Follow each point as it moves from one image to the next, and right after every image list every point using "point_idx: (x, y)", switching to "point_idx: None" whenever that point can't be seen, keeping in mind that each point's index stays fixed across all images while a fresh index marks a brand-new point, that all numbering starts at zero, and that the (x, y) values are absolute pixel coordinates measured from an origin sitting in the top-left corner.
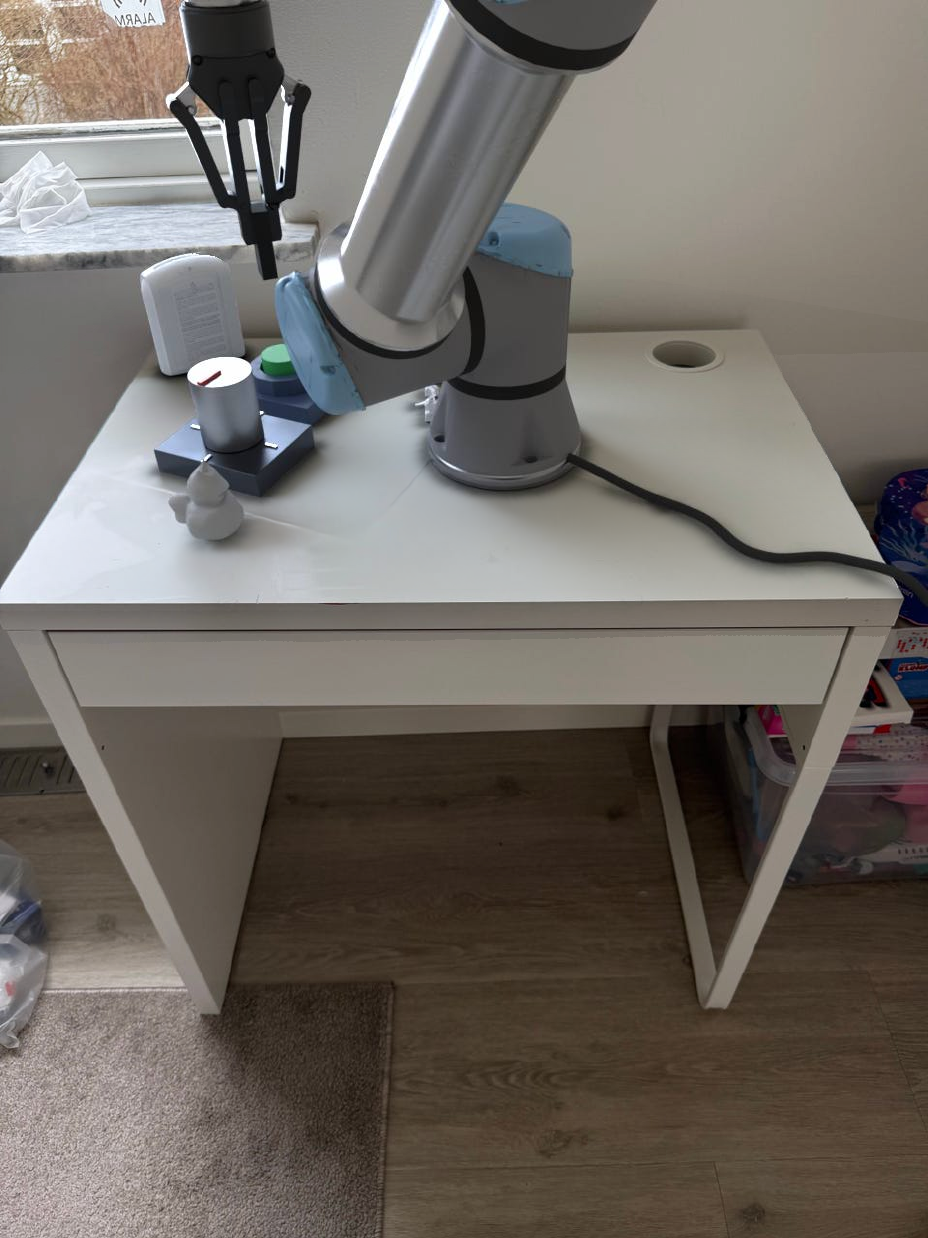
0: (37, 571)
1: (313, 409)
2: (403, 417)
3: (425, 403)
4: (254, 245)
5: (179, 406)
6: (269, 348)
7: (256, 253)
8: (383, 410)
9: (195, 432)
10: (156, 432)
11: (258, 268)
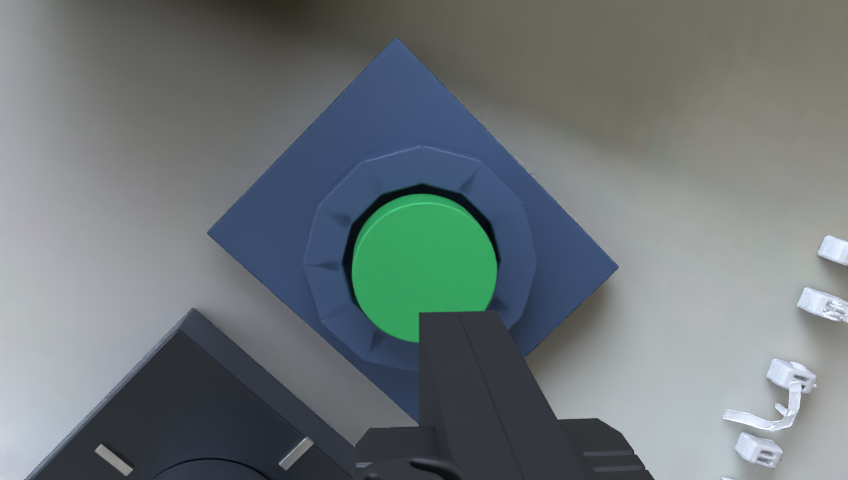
0: None
1: None
2: (673, 446)
3: (748, 451)
4: (430, 386)
5: (84, 161)
6: (391, 223)
7: (427, 397)
8: (639, 395)
9: (108, 477)
10: (9, 290)
11: (420, 339)
